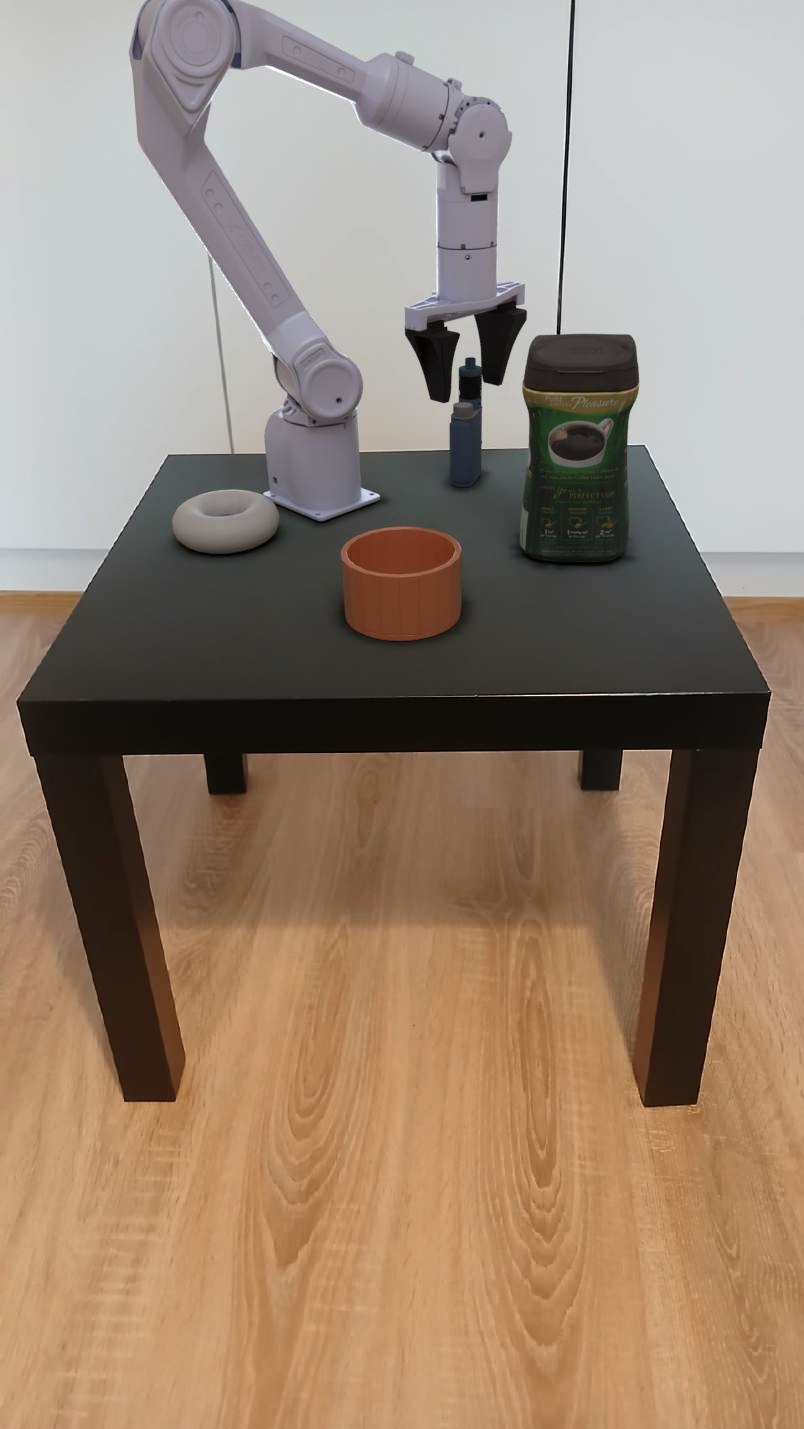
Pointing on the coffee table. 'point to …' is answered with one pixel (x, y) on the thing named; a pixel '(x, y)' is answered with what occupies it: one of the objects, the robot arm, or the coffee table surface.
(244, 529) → the donut
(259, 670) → the coffee table surface
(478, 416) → the vaping device
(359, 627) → the jar
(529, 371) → the coffee jar
